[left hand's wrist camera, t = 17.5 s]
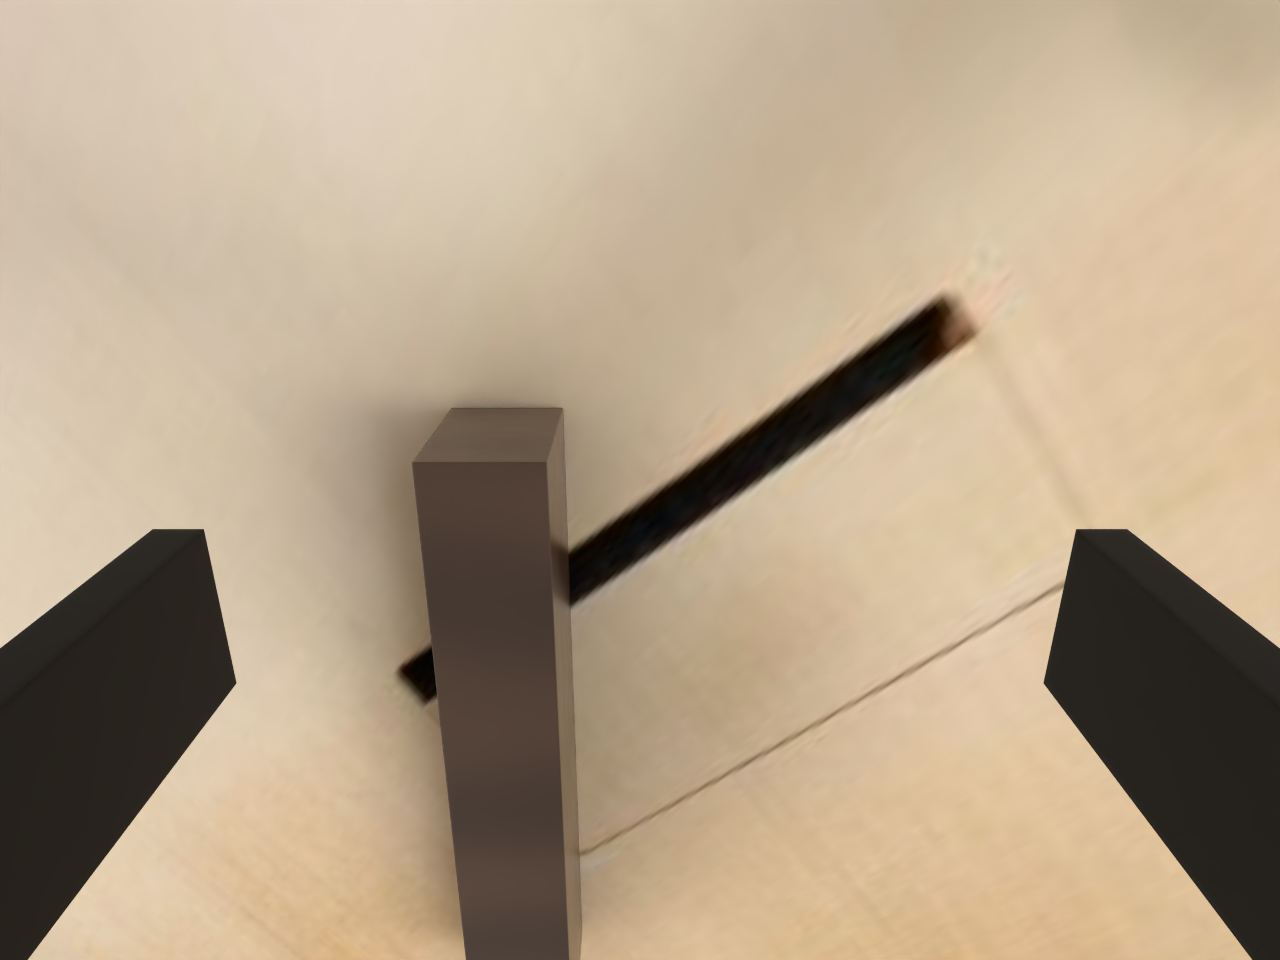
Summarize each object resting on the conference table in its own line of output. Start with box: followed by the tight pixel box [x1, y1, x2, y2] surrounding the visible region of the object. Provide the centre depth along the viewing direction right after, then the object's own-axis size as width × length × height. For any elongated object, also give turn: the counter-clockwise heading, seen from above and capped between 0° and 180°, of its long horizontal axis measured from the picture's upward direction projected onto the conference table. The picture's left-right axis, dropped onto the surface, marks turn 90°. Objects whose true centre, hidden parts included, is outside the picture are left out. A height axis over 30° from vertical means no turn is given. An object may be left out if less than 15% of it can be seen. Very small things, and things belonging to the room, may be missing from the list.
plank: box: [412, 408, 582, 960], centre depth 40 cm, size 32×5×7 cm, turn 0°
